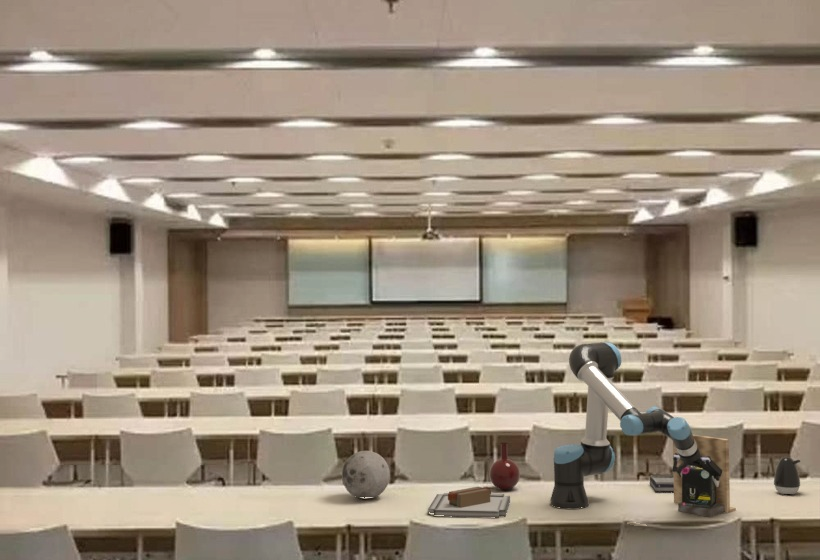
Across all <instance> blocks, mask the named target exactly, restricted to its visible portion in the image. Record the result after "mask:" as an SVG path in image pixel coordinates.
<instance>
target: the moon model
mask: <svg viewBox="0 0 820 560" xmlns="http://www.w3.org/2000/svg"><path fill="white" fill-rule="evenodd" d="M390 474H391V473H390V468H389V465H388V463H387V461H386V460H385V458H383V457H382V455H380V454H379V453H377V452H374V451H372V450H361V451H358V452H355V453H354V454H352V455H350V456H349V457H348V458H347V460H346V461H345V463H344V465H343V467H342V471H341V479H342V480H341V481H342V484H343V485H344V488H345V490H346V491H347V492H348V493H349V494H350V495H352V496H353V497H355V496H356V497H355V498H357V497H364V498H365V497H375V498H376V496H377V497H378V496H380V495H381V494H383V492H384V491H385V490H386V489H387V487H388V485H389V482H390V478H391V476H390Z"/></svg>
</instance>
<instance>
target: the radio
mask: <svg viewBox="0 0 820 560" xmlns="http://www.w3.org/2000/svg"><path fill="white" fill-rule="evenodd" d="M649 486H650V487H651V489H652V490H653V491H654V493H655V494H674V475H673V474H670V475H669V474H668V475H667V474H666V475H664V474H660V475H659V474H657V475H656V474H653V475H652V474H651V475H650V477H649ZM671 492H672V493H671Z"/></svg>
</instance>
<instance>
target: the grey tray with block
mask: <svg viewBox="0 0 820 560" xmlns="http://www.w3.org/2000/svg"><path fill="white" fill-rule="evenodd" d="M509 503H511V495H505V494H504V493H492V488H491V487H489V486H484V487H482V486H475V487H469V488H463V489H458V490H451V491H449V492H444V493H442V494H441V493H440V494H439V493H438V494H437V493H436V496H435V497H434V499H433V501H432V502H431V503H430V505H429V507H428V509H427V513H428V512H430V513H434V515H444V516H452V517H451V518H466V517H495V518H494V519H499V516H504V517H503V518H506V517H507V514H506V513H508V511H507V510H509V507H510V504H509ZM434 515H433V516H434Z"/></svg>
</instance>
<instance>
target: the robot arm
mask: <svg viewBox="0 0 820 560" xmlns="http://www.w3.org/2000/svg"><path fill="white" fill-rule="evenodd" d="M568 365H569V368H570V370H571V372H572V373H573V375H574V376H575V378H577V380H579V381H580V382H584V383H585V384H586V385H587V401H586V417H585V429H584V432H585V433H584V437H582V438H581V439H580V444H575V443H571V444H564V445H560V446H558V447H556V448H555V450H554V452H553V471H554V473H553V474H554V475H553V476H554V477H553V479H554V485H553V489H552V493H551V496H550V506H551V505H553V506H555V507H554V508H557V507H560V508H559V509H563V508H579V509H582V508H581V507H584V508H586V507H585V506H587V507H589V502H590V501H589V497H588V495H587V492H586V489H585V483H584V481H585V479H584V477H588V476H594V475H602V474H604V473H607V472H609V471H611V469H612V468H613V467H614V464H615V461H616V454H615V452H614V448H612V446H611V443H610V441H609V440H608V439H607V432H608V417H609V410H610V411H611V413H613V414H614V416H616V418H617V419H618V420H619V421H620V423H619V425H620V426H619V427H620V428H621V432H622V433H623V434H624V435H626V436H639V435H643V434H651V433H657V432H659V433H661V434H662V435H664V436H665V437H667V438H668V439H670V440H672V443H673V442H674V445H675V447H676V449H677V451H678V454H679V455H678V454H677V453H675V454H674V457H673V456H672V459H673V460H674V464H673V463H672V469H671V472H672V473H673V472H675V471H676V472H677V473H678V474H679V476H680V477H682V469H684V468H685V467H686V466H687V465H690V466H697V467H699V468H702V469H704V470H705V471H707V472H708V473H710V474H711V475H712V478H713V481H714V483H715V485H716V487H718V486H719V482H720V481H719V479H720V476H721V474H722V469H721V468H719V467H718V466H717V465H716V464H715V463H714V462H713V461H712V460H711V458H710V456H707V458H704V457H702V456H701V455H700V451H699V449H698V446H697V444H696V442H695V439H694V437H693V435H694V434H693V432H692V429H691V427H690V425H689V422H687V420H686V418H684V417H679V416H678V417H677V416H673V415H671V414H670V413H668V412H667V411H665V410H664V409H662V408H660V407H658V406H651V407H650V408H648V409H647V410H646V412H642V413H641V411H639V409H637V407H636V406H635V405H633V403H632V402H631V401H630V400H629V399H628V398H627V397H626V396H625V395H624V394H623V393H622V392H621V390H619V389H618V387H617V386H616V385H615V384H614V383H613V382H612V380H613V379H615V371H618V370H619V368H620V367H621V366H622V355H621V352H620V350H619V349H618V347H617V346H616V345H615V344H614V343H611V342H603V341H602V342H593V343H581V344H578V345H577V346H575V347H574V348H573V349H572V350H571V352H570V354H569V356H568ZM679 459H681V460H682V461H683V462H682V463H681V464H680V466H679V467H677V462H678V460H679ZM700 463H701V464H700ZM553 506H552V507H553Z"/></svg>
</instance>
